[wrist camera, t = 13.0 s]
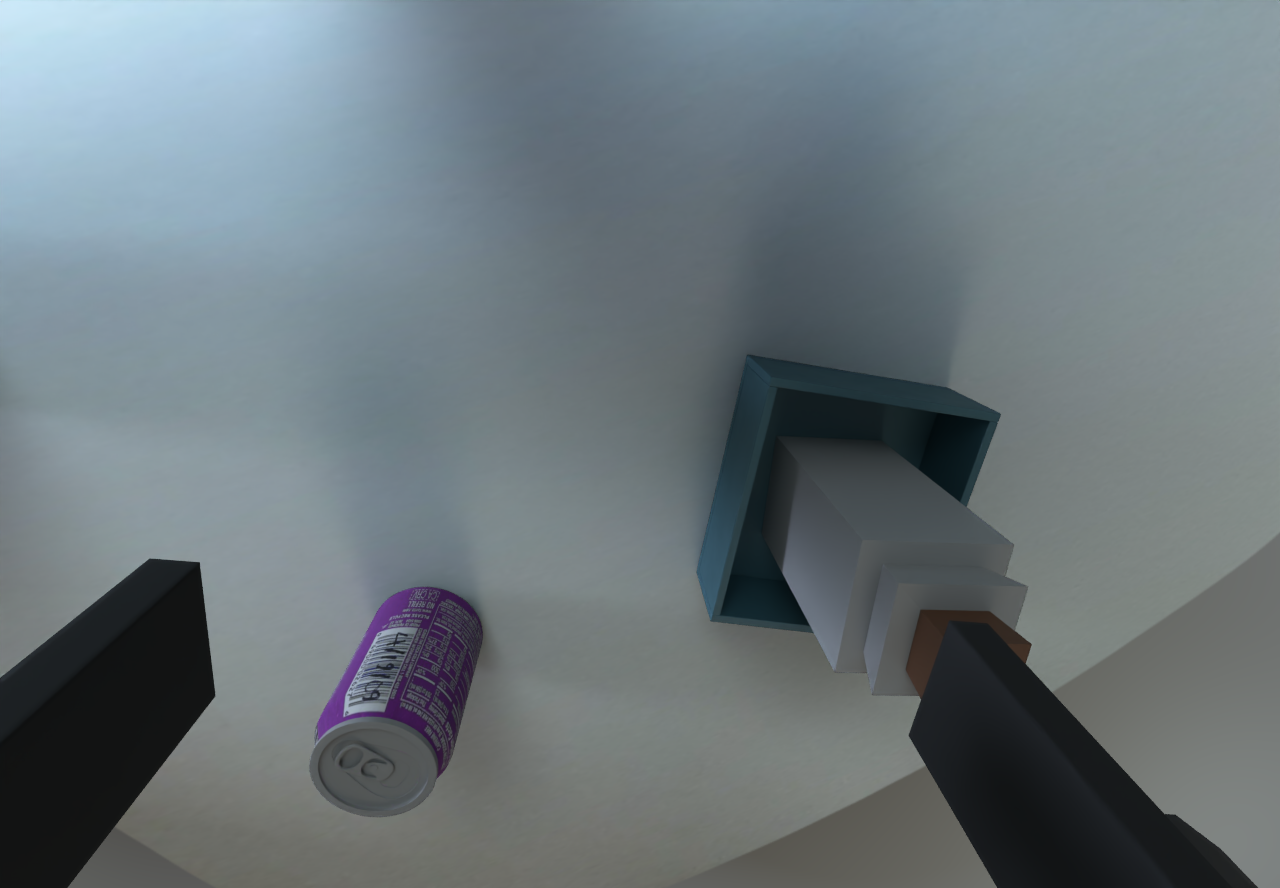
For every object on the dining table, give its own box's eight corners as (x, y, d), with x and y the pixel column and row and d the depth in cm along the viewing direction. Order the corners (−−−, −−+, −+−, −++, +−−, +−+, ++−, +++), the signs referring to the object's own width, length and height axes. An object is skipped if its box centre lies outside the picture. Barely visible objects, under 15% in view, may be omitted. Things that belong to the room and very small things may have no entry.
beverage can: (356, 636, 43) (272, 786, 32) (413, 561, 42) (345, 690, 30) (447, 686, 45) (398, 843, 34) (505, 615, 43) (474, 756, 32)
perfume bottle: (881, 440, 40) (1090, 604, 23) (861, 536, 43) (1039, 750, 26) (776, 435, 40) (912, 600, 23) (761, 533, 42) (875, 749, 25)
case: (747, 354, 38) (771, 376, 33) (948, 387, 40) (1001, 413, 35) (696, 572, 43) (710, 621, 38) (877, 594, 45) (915, 644, 40)
